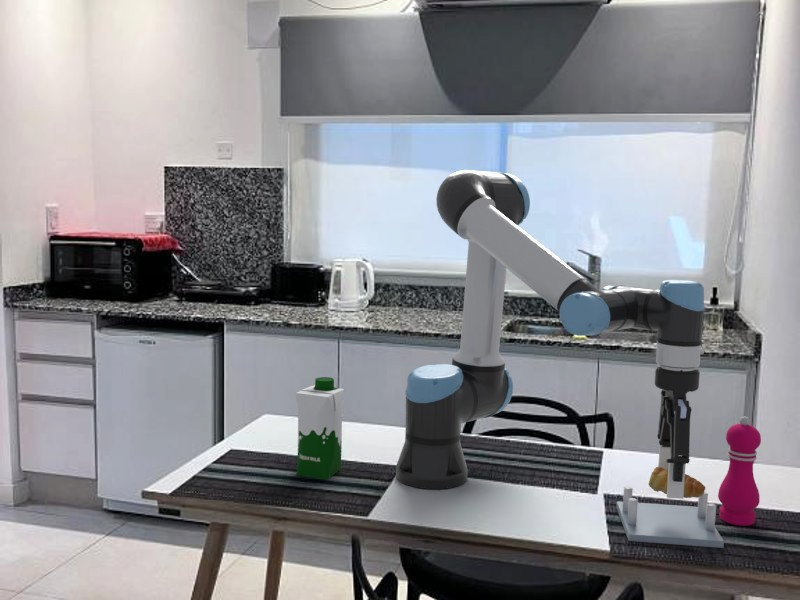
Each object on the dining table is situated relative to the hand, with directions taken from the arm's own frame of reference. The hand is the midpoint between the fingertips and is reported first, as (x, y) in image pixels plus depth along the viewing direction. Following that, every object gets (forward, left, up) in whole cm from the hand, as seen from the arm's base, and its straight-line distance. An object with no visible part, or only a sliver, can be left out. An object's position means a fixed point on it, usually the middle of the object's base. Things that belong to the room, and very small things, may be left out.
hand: (670, 488), depth 149 cm
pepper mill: (+14, +6, -7) cm, 17 cm away
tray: (0, 0, -7) cm, 7 cm away
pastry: (+1, 0, 0) cm, 1 cm away
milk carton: (-69, +16, -7) cm, 71 cm away
